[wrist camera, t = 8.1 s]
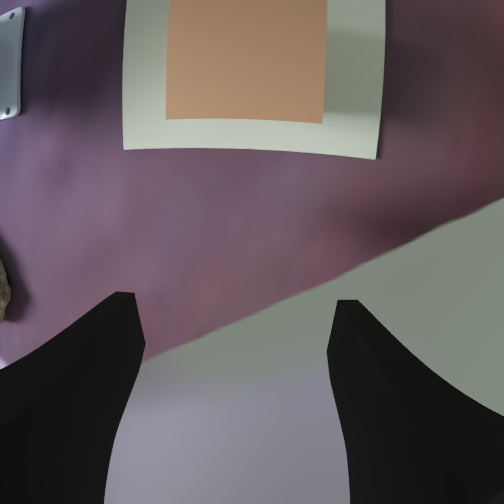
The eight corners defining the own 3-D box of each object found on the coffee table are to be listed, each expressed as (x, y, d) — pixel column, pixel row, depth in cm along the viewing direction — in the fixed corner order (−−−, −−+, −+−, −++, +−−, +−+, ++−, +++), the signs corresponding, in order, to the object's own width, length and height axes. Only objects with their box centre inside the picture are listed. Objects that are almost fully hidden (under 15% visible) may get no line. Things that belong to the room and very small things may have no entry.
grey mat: (127, 147, 17) (123, 149, 17) (135, -39, 12) (132, -42, 11) (372, 157, 17) (375, 159, 17) (380, -31, 12) (384, -34, 11)
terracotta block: (207, 109, 16) (165, 119, 8) (210, 30, 14) (171, -19, 6) (292, 112, 16) (321, 123, 8) (296, 33, 14) (327, -17, 6)
